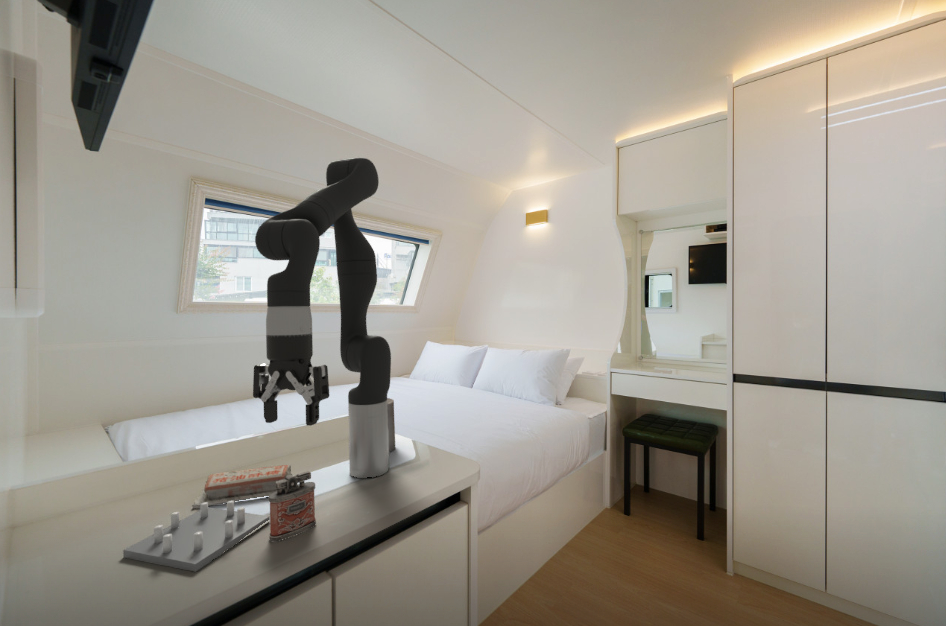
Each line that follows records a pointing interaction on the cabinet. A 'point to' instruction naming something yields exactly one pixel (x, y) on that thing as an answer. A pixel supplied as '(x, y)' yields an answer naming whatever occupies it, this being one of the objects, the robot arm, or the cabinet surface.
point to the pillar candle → (391, 423)
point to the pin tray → (195, 537)
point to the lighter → (292, 506)
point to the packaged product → (241, 485)
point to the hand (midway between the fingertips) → (291, 423)
